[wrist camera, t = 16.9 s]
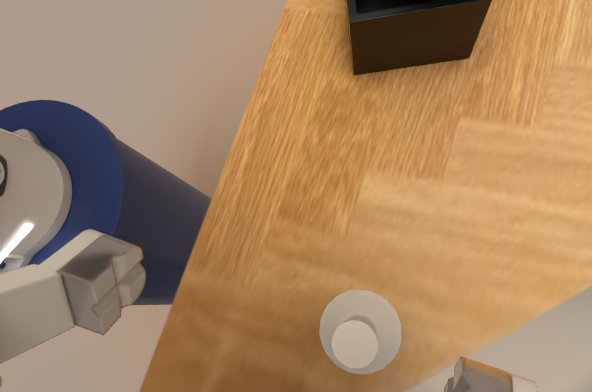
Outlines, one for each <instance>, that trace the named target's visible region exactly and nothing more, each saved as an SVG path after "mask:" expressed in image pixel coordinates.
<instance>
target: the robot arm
mask: <svg viewBox="0 0 592 392" xmlns="http://www.w3.org/2000/svg"><path fill="white" fill-rule="evenodd" d="M71 200H72V182H71V178H70V174H69V171H68V169H67V167H66V165H65V164H64V162H63V161H62V160H61V159H60V158H59V157H58V156H57V155H56V154H55V153H53V152H51V151H50V150H48V149H46V148H45V147H43V146H42V145H41V143H40V141H39V140H38V138H37V137H36V135H35V134H34V133H33V132H31V131H29V130H26V129H20V130H17V131H14V132H9V131H6V130H3V129H1V128H0V364H1V363H3V362H5V361H7V360H9V359H11V358H13V357H15V356H17V355H19V354H21V353H23V352H25V351H27V350H29V349H31V348H33V347H35V346H37V345H39V344H41V343H43V342H45V341H47V340H49V339H51V338H54V337H55V336H57V335H60V334H62V333H63V332H65V331H68V330H70V329H71V328H74V327H75V325H77V326H80V327H82V328H85V329H88V330H90V331H93V332H96V333H99V334H101V335H104V334H105V333H106V332H107V331H108V330H109V329H110V327H112V325H113V324H114V323H115V322H116V321H117V320H118V319H119V318H120V317H121V309H122V308H123V307H126V306H129V305H131V304H133V303H134V302H135V300H136V299H137V298H138V297H139V296H140V294H141V292H142V290H143V288H144V286H145V280H146V275H145V270H144V268H143V267H142V266H141V264H140V263H139V262H140V261H141V260H142V259H143V254H142V248H140V247H138V246H135V245H133V244H130V243H128V242H125V241H122V240H120V239H117V238H114V237H112V236H109V235H106V234H103V233H100V232H97V231H95V230H92V229H89V230H85V231H83V232H82V233H80V234H79V235H78V236H77V237H75V238H74V239H73V240H71V241H70V242H69V243H67V244H66V245H65V246H63V247H62V248H61V249H60V250H58V251H57V252H56V253H54V254H53V255H52V256H50V257H49V258H48V259H46V260H45V261H44V262H43V263H41V264H40V265H36V264H31V265H28V264H29V262H30V261H31V259H32V257H33V256H34V255H35V254H36V253H37V252H38V251H39V250H41V249H42V248H43V247H44V246H46V245H47V244H48V243H49V242H50V241H51V240H52V239H53V238H54V237H55V236H56V234H57V233H58V232H59V230H60V229H61V227H62V226H63V224H64V222H65V220H66V218H67V215H68V212H69V209H70V205H71ZM5 264H6V266H5V268H4V265H5ZM1 386H2V378H1V377H0V387H1ZM444 392H538V386H537V385H536V382H535V381H532V380H529V379H526V378H523V377H520V376H518V375H515V374H512V373H508V372H507V371H504V370H501V369H497V368H494V367H491V366H488V365H485V364H482V363H479V362H476V361H473V360H470V359H467V358H464V357H460V358H459V359H458V361H457V363H456V365H455V369H454V377H453V378H450V379H448V381H447V384H446V386H445V388H444Z"/></svg>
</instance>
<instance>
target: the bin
mask: <svg viewBox="0 0 592 392" xmlns="http://www.w3.org/2000/svg"><path fill="white" fill-rule="evenodd" d="M491 1H492V0H345V3H346V12H347V21H348V30H349V38H350V47H351V56H352V64H353V73H354V75H358V74H365V73H372V72H378V71H385V70H392V69H399V68H405V67H412V66H419V65H425V64H432V63H439V62H445V61H452V60H459V59H465V58H469V57H470V54H471V51H472V49H473V46H474V44H475V41H476V39H477V36H478V34H479V31H480V29H481V26H482V24H483V21H484V19H485V16H486V14H487V11H488V9H489V6H490V4H491Z"/></svg>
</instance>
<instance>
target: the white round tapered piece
mask: <svg viewBox="0 0 592 392" xmlns="http://www.w3.org/2000/svg"><path fill="white" fill-rule="evenodd" d="M319 336H320V339H321V342H322V345H323V348H324V351H325V353H326V354H327V355H328V357H329V358H330V359H331V360H332V361H333V363H334V364H335V365H336V366H338V367H340V368H342V369H344V370H345V371H347V372H349V373H354V374H364V375H367V374H370V373H373V372H376V371H380V370H382V369H383V368H385V367H386V366H387V365H388V364H389V363H390V362H391V361H392V360H393V359H394V358H395V356H396V354H397V351H398V349H399V347H400V345H401V324H400V321H399V318H398V316H397V313H396V311H395V309H394V308H393V307H392V306H391V305H390V304H389V303H388V302H387V300H386V299H385V298H384V297H382V296H380V295H378V294H375V293H373V292H371V291H369V290H355V289H353V290H350V291H347V292H345V293H342V294H339V295H338V296H336V297H335V298H334V299H333V300H332V301H331V302H330V303H329V304H328V305H327V306H326V308H325V311H324V313H323V315H322V317H321V319H320V334H319Z"/></svg>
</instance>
